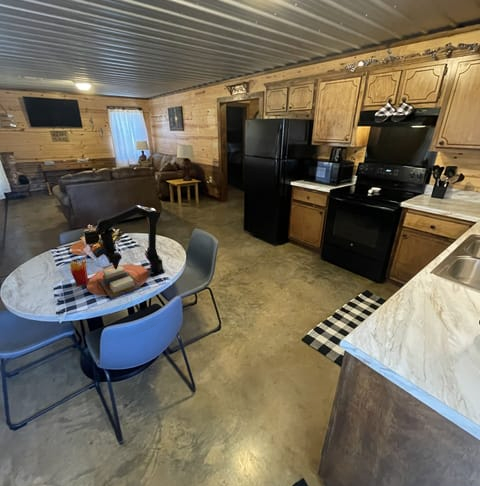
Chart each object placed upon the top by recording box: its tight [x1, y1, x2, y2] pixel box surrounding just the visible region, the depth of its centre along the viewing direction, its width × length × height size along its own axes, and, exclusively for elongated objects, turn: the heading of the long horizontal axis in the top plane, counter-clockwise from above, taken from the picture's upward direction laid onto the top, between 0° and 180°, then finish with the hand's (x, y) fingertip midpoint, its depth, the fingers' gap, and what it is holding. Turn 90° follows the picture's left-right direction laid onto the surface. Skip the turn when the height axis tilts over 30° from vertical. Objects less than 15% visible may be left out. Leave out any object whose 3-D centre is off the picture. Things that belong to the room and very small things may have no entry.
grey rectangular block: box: [102, 270, 128, 284], centre depth 151 cm, size 12×5×4 cm, turn 131°
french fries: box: [69, 259, 89, 287], centre depth 146 cm, size 9×8×15 cm
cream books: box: [110, 276, 134, 293], centre depth 143 cm, size 11×6×4 cm, turn 131°
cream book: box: [103, 265, 126, 279], centre depth 150 cm, size 10×6×2 cm, turn 131°
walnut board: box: [98, 270, 142, 300], centre depth 148 cm, size 16×22×1 cm
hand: (113, 266), depth 148 cm, fingers open, 9 cm apart
